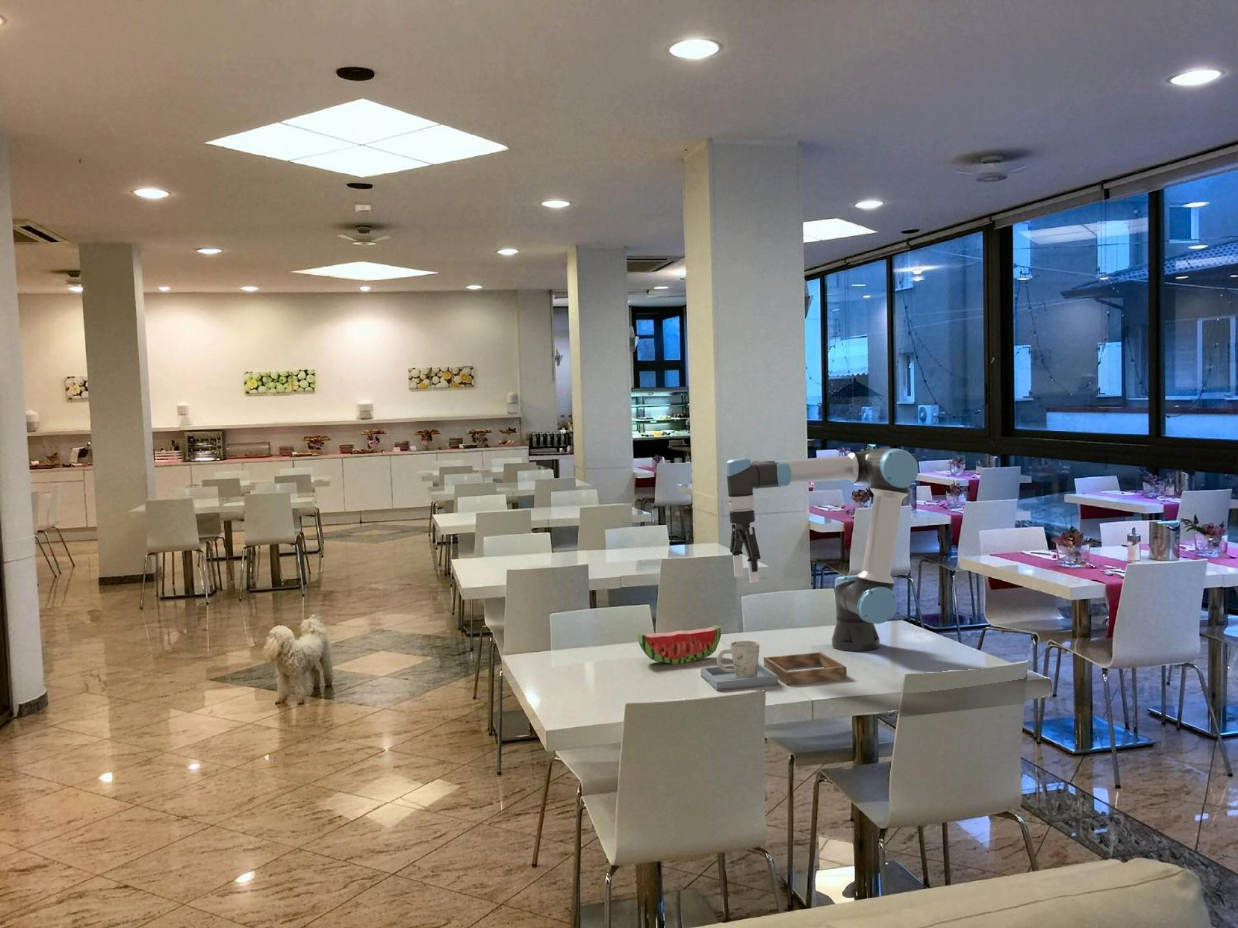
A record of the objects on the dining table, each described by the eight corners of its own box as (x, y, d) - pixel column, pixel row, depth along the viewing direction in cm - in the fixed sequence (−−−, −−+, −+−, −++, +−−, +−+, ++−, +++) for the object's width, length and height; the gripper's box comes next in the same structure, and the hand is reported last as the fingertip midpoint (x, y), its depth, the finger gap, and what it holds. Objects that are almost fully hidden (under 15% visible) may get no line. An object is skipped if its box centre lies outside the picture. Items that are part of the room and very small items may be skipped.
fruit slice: (643, 667, 307) (641, 635, 306) (638, 663, 313) (636, 631, 312) (723, 659, 313) (721, 627, 312) (716, 654, 319) (715, 624, 318)
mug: (760, 681, 281) (758, 647, 281) (715, 681, 284) (714, 647, 283) (761, 674, 289) (760, 640, 289) (718, 674, 292) (717, 640, 291)
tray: (759, 670, 296) (758, 662, 296) (778, 684, 279) (778, 675, 279) (700, 676, 293) (700, 667, 293) (716, 690, 276) (716, 681, 276)
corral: (820, 663, 301) (820, 651, 301) (846, 678, 282) (846, 666, 282) (764, 668, 298) (763, 657, 298) (786, 685, 279) (786, 672, 278)
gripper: (716, 508, 311) (721, 574, 312) (744, 514, 287) (749, 586, 288) (739, 505, 313) (744, 572, 314) (768, 511, 288) (773, 583, 289)
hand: (746, 579), depth 301 cm, fingers open, 13 cm apart
